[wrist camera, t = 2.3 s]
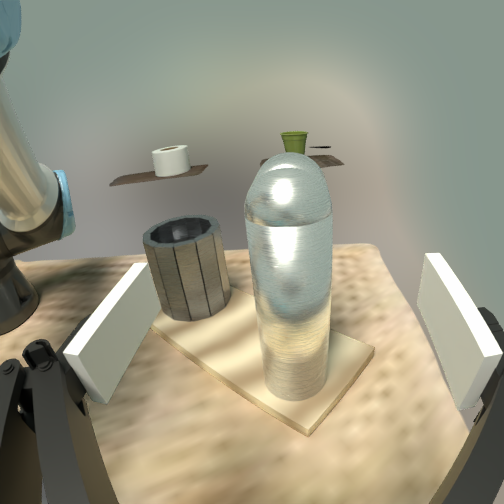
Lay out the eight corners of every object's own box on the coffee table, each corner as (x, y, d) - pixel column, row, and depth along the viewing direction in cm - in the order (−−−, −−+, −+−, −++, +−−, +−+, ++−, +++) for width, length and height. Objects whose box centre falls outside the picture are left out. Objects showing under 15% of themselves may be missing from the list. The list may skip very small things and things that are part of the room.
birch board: (139, 319, 46) (136, 311, 45) (204, 280, 54) (202, 273, 53) (307, 437, 26) (308, 429, 26) (373, 356, 34) (374, 347, 34)
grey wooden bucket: (150, 303, 46) (130, 236, 41) (200, 274, 53) (187, 210, 48) (190, 331, 40) (170, 255, 35) (244, 294, 46) (234, 223, 41)
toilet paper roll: (194, 166, 143) (190, 143, 138) (184, 174, 129) (180, 149, 124) (162, 170, 145) (159, 147, 140) (150, 178, 131) (146, 154, 126)
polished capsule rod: (326, 400, 28) (336, 176, 19) (260, 400, 29) (231, 181, 20) (324, 338, 36) (324, 150, 27) (270, 338, 38) (251, 154, 28)
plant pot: (312, 159, 129) (310, 133, 124) (284, 162, 129) (281, 135, 124) (306, 154, 139) (304, 130, 134) (280, 157, 139) (278, 132, 134)
